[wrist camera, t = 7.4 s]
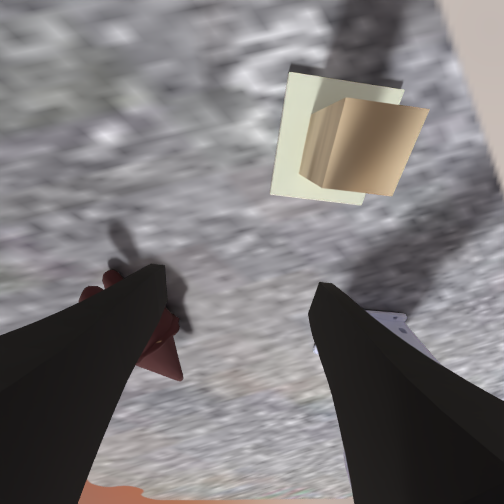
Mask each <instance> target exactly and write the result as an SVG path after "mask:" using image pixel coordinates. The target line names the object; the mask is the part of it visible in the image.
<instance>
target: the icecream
mask: <svg viewBox="0 0 504 504" xmlns="http://www.w3.org/2000/svg"><path fill="white" fill-rule="evenodd" d="M123 279H124V278H123V277H122V276H121V275H120V274H119V273H118V272H117V271H115V270H108V271H107V272H105V273H104V274H103V280H102V281H103V284H104V287H105V289H106V288H108V287H110V286H112V285H114V284H115V283H117V282H119V281H121V280H123ZM101 291H103V289H102V288H100V287H98V286H88V287H86V288H85V289H84V290H83V292H82V294H81V296H80V298H79V302H81V301H83V300H85V299H87V298H89V297H91V296H93V295H95V294H97V293H99V292H101ZM178 322H179V318H178V317H176V316H175V315H174V314H172V313H170V311H169V310H168V309H167V308H166V307H165V309H164V311H163V314H162V316H161V319H160V321H159V323H158V325H157V327H156V328H155V330H154V332H153V334H152V336H151V338H150V339H149V341H148V343H147V345H146V347H145V349H144V350H143V352H142V354H141V356H140V358H139V359H138V361H137V363H136V366H139V367H142V368H144V369H147V370H150V371H152V372H155V373H158V374H161V375H163V376H166V377H169V378H171V379H174V380H177V381H182V380H183V373H182V370H181V366H180V362H179V358H178V354H177V350H176V346H175V342H174V338H173V335H175V334H176V333H177V332H178V331H179V327H180V326H179V324H178Z"/></svg>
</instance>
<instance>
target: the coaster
mask: <svg viewBox="0 0 504 504" xmlns="http://www.w3.org/2000/svg"><path fill="white" fill-rule="evenodd" d="M403 93H404V90H402V89H395V88H389V87H382V86H376V85H370V84H363V83H357V82H351V81H344V80H338V79H332V78H325V77H319V76H313V75H306V74H300V73H294V72H289V74H288V78H287V85H286V91H285V97H284V104H283V110H282V117H281V123H280V130H279V136H278V142H277V149H276V155H275V162H274V168H273V175H272V181H271V187H270V195H278V196H287V197H295V198H304V199H312V200H320V201H329V202H337V203H346V204H354V205H362V202H363V199H364V197H365V194H366V193H360V192H351V191H342V190H334V189H325V188H321V187H319V186H318V185H316V184H314V183H313V182H311V181H309V180H308V179H306V178H305V177H303V176H301V175H300V174H299V170H300V165H301V160H302V155H303V150H304V146H305V141H306V136H307V131H308V126H309V121H310V117H311V114H313V113H315V112H317V111H319V110H321V109H323V108H325V107H327V106H329V105H331V104H333V103H335V102H337V101H339V100H341V99H344V98H346V97H348V98H355V99H362V100H369V101H376V102H383V103H390V104H396V105H399V104H400V101H401V98H402V96H403Z"/></svg>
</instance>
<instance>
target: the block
mask: <svg viewBox="0 0 504 504" xmlns="http://www.w3.org/2000/svg"><path fill="white" fill-rule="evenodd" d="M429 110H430V109H424V108H417V107H410V106H403V105H396V104H390V103H383V102H376V101H369V100H362V99H355V98H348V97H346V98H344V99H341V100H339V101H337V102H335V103H333V104H331V105H329V106H327V107H325V108H323V109H321V110H319V111H317V112H315V113H313V114H311V117H310V121H309V126H308V131H307V136H306V141H305V146H304V150H303V155H302V160H301V165H300V170H299V174H300V175H301V176H303V177H305V178H306V179H308V180H309V181H311V182H313V183H314V184H316V185H318V186H319V187H321V188H325V189H334V190H342V191H351V192H360V193H368V194H377V195H385V196H392V195H393V193H394V191H395V188H396V186H397V184H398V181H399V179H400V177H401V174H402V172H403V170H404V167H405V165H406V163H407V161H408V158H409V156H410V154H411V151H412V149H413V147H414V144H415V142H416V140H417V137H418V135H419V133H420V130H421V128H422V126H423V124H424V121H425V119H426V117H427V114H428V112H429Z"/></svg>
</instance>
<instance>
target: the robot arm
mask: <svg viewBox="0 0 504 504" xmlns="http://www.w3.org/2000/svg"><path fill="white" fill-rule="evenodd" d="M167 301H168V299H167V287H166V275H165V265H156V264H150V265H148V266H146V267H144V268H142V269H140V270H139V271H137V272H135V273H133V274H131V275H130V276H128V277H126V278H124V279H123V280H121V281H119V282H117V283H115V284H114V285H112V286H110V287H108V288H106V289H104V290H103V291H101V292H99V293H97V294H95V295H93V296H91V297H89V298H87V299H85V300H83V301H81V302H79V303H77V304H75V305H73V306H71V307H69V308H66V309H64V310H62V311H60V312H58V313H55V314H53V315H51V316H48V317H46V318H44V319H41V320H39V321H37V322H34V323H32V324H29V325H27V326H24V327H21V328H19V329H16V330H14V331H11V332H8V333H6V334H3V335H0V504H78V501H79V499H80V496H81V493H82V490H83V488H84V485H85V482H86V480H87V477H88V475H89V472H90V470H91V467H92V464H93V462H94V459H95V457H96V454H97V452H98V449H99V447H100V444H101V442H102V439H103V437H104V434H105V432H106V429H107V427H108V425H109V422H110V420H111V417H112V415H113V413H114V410H115V408H116V406H117V403H118V401H119V399H120V396H121V394H122V392H123V390H124V387H125V385H126V383H127V380H128V378H129V376H130V374H131V372H132V370H133V369H134V367H135V365H136V363H137V361H138V359H139V358H140V356H141V354H142V352H143V350H144V349H145V347H146V345H147V343H148V341H149V339H150V338H151V336H152V334H153V332H154V330H155V328H156V327H157V325H158V323H159V321H160V319H161V316H162V314H163V311H164V309H165V306H166V303H167ZM308 316H309V322H310V327H311V332H312V336H313V339H314V342H315V346H314V349H313V351H314V353H315V354H319V357H320V360H321V363H322V366H323V369H324V372H325V375H326V377H327V380H328V383H329V387H330V390H331V394H332V397H333V402H334V406H335V410H336V414H337V418H338V423H339V427H340V432H341V437H342V441H343V446H344V462H345V467H346V471H347V475H348V479H349V482H350V485H351V488H352V493H353V499H354V504H504V401H503V400H501V399H499V398H497V397H495V396H493V395H491V394H490V393H488V392H486V391H484V390H483V389H481V388H479V387H477V386H476V385H474V384H472V383H470V382H468V381H467V380H465V379H463V378H462V377H460V376H458V375H457V374H455V373H453V372H452V371H450V370H449V369H447V368H445V367H444V366H442V365H441V364H440V363H439V362H438V360H437V359H436V358H435V357H434V356H433V355H432V354H431V352H430V351H429V350H428V349H427V348H426V347H425V345H424V344H423V343H422V342H421V341H420V340H419V339H418V337H417V336H416V335H415V334H414V333H413V332H412V330H411V329H410V328H409V327H408V326H407V325H406V324H405V321H406V319H407V316H406V315H405V314H404V313H393V312H381V311H370V310H364V309H363V308H362V307H360V306H359V305H358V304H357V303H356V302H354V301H353V300H352V299H351V298H350V297H348V296H347V295H346V294H345V293H344V292H342V291H341V290H340V289H339V288H338V287H336V286H335V285H333V284H332V283H324V282H319V284H318V287H317V290H316V293H315V296H314V299H313V301H312V304H311V307H310V310H309V313H308Z"/></svg>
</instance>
